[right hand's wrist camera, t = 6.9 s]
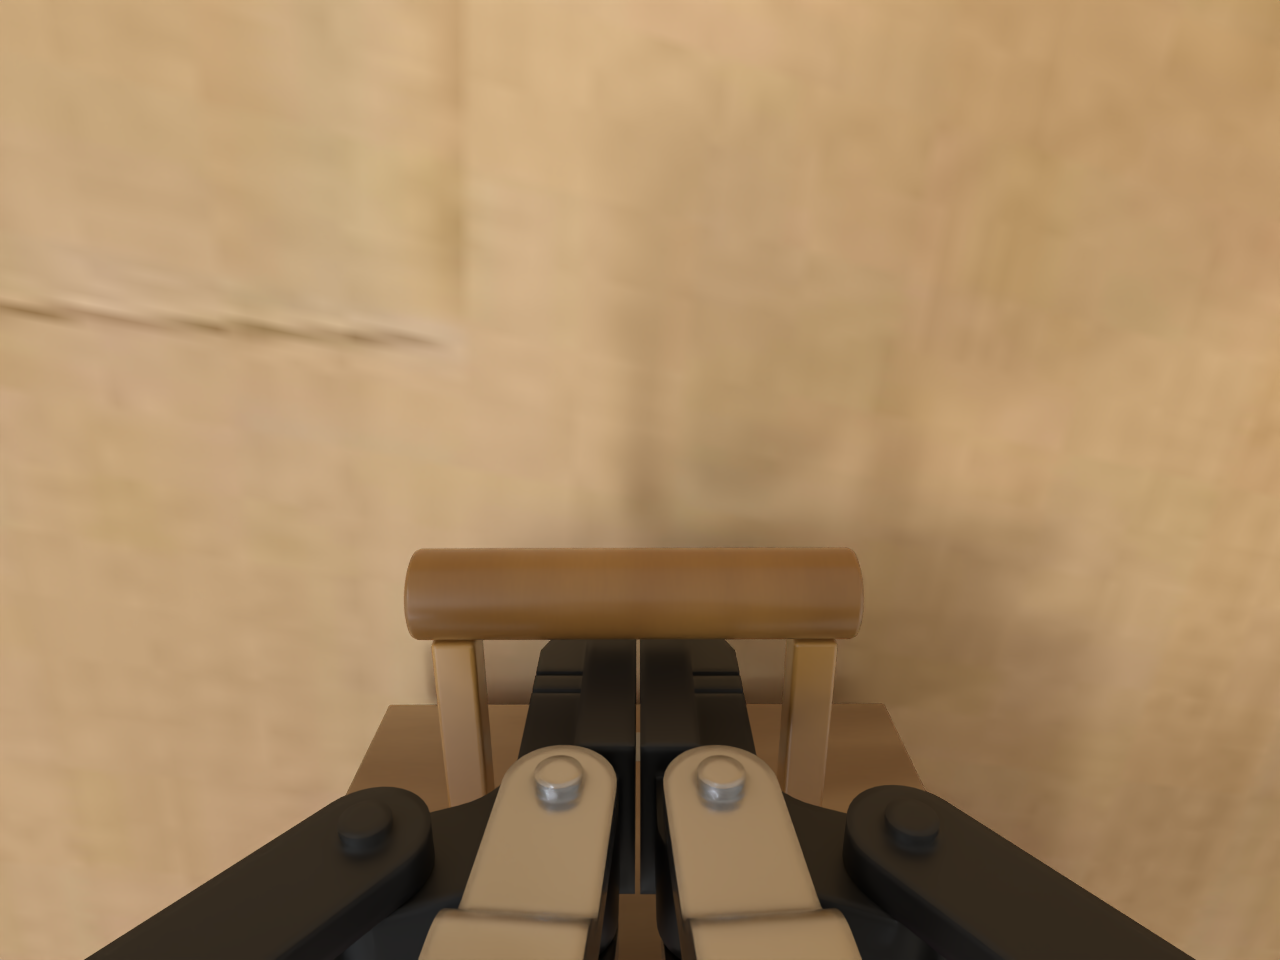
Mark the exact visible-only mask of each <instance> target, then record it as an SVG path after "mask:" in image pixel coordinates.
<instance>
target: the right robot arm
mask: <svg viewBox="0 0 1280 960" xmlns="http://www.w3.org/2000/svg"><path fill="white" fill-rule="evenodd" d="M635 820H636V639H600V640H550V642H549V643H548V644H547V645H546V646H545V647H544V648H543V649H542V650H541V653H540V657H539V662H538V667H537V671H536V676H535V681H534V685H533V693H532V695H531V699H530V704H529V708H528V713H527V718H526V722H525V727H524V732H523V736H522V741H521V746H520V750H519V755H518V759H517V761H516V762H515V763H514V764H512V765H511V766H510V768H509V769H508V770H507V772H506V773H505V775H504V777H503V779H502V782H501V785H500V786H498V787H497V788H496V789H494V790H493V791H491V792H490V793H488V794H486V795H484V796H483V797H481V798H478V799H476V800H474V801H471V802H468V803H465V804H462V805H458V806H454V807H450V808H446V809H442V810H438V811H434V812H429V809H428V806H427V805H426V803H425V802H424V800H422V799H421V798H420V797H419V796H418V795H416V794H415V793H413V792H411V791H408V790H405V789H402V788H397V787H373V788H368V789H363V790H359V791H356V792H353V793H350V794H348V795H346V796H343V797H341V798H339V799H337V800H336V801H334V802H332V803H330V804H329V805H327V806H326V807H324V808H323V809H321V810H319V811H318V812H316V813H315V814H313V815H312V816H310V817H308V818H307V819H305V820H304V821H302V822H301V823H299V824H297V825H296V826H294V827H293V828H291V829H290V830H288V831H286V832H285V833H283V834H282V835H280V836H278V837H277V838H275V839H274V840H272V841H271V842H269V843H267V844H266V845H264V846H263V847H261V848H260V849H258V850H256V851H255V852H253V853H252V854H250V855H249V856H247V857H245V858H244V859H242V860H241V861H239V862H238V863H236V864H234V865H233V866H231V867H230V868H228V869H226V870H225V871H223V872H222V873H220V874H219V875H217V876H215V877H214V878H212V879H211V880H209V881H208V882H206V883H204V884H203V885H201V886H200V887H198V888H197V889H195V890H193V891H192V892H190V893H189V894H187V895H186V896H184V897H182V898H181V899H179V900H178V901H176V902H174V903H173V904H171V905H170V906H168V907H167V908H165V909H163V910H162V911H160V912H159V913H157V914H156V915H154V916H152V917H151V918H149V919H148V920H146V921H145V922H143V923H141V924H140V925H138V926H137V927H135V928H134V929H132V930H130V931H129V932H127V933H126V934H124V935H122V936H121V937H119V938H118V939H116V940H115V941H113V942H111V943H110V944H108V945H107V946H105V947H104V948H102V949H100V950H99V951H97V952H96V953H94V954H93V955H91V956H89V957H88V958H86V959H85V960H618V957H619V925H618V919H619V894H635ZM640 894H656V922H657V929H658V932H659V935H660V937H661V957H662V960H1195V959H1194V958H1192V957H1191V956H1189V955H1187V954H1186V953H1184V952H1183V951H1181V950H1180V949H1178V948H1176V947H1175V946H1173V945H1172V944H1170V943H1169V942H1167V941H1165V940H1164V939H1162V938H1161V937H1159V936H1157V935H1156V934H1154V933H1153V932H1151V931H1150V930H1148V929H1146V928H1145V927H1143V926H1142V925H1140V924H1139V923H1137V922H1135V921H1134V920H1132V919H1131V918H1129V917H1128V916H1126V915H1124V914H1123V913H1121V912H1120V911H1118V910H1117V909H1115V908H1113V907H1112V906H1110V905H1109V904H1107V903H1105V902H1104V901H1102V900H1101V899H1099V898H1098V897H1096V896H1094V895H1093V894H1091V893H1090V892H1088V891H1087V890H1085V889H1083V888H1082V887H1080V886H1079V885H1077V884H1076V883H1074V882H1072V881H1071V880H1069V879H1068V878H1066V877H1065V876H1063V875H1061V874H1060V873H1058V872H1057V871H1055V870H1054V869H1052V868H1050V867H1049V866H1047V865H1046V864H1044V863H1042V862H1041V861H1039V860H1038V859H1036V858H1035V857H1033V856H1031V855H1030V854H1028V853H1027V852H1025V851H1024V850H1022V849H1020V848H1019V847H1017V846H1016V845H1014V844H1013V843H1011V842H1009V841H1008V840H1006V839H1005V838H1003V837H1002V836H1000V835H998V834H997V833H995V832H994V831H992V830H990V829H989V828H987V827H986V826H984V825H983V824H981V823H979V822H978V821H976V820H975V819H973V818H972V817H970V816H968V815H967V814H965V813H964V812H962V811H961V810H959V809H957V808H956V807H954V806H953V805H951V804H950V803H948V802H946V801H945V800H943V799H941V798H939V797H938V796H936V795H933V794H931V793H929V792H926V791H924V790H920V789H917V788H914V787H908V786H902V785H882V786H876V787H873V788H870V789H867V790H865V791H863V792H861V793H860V794H858V795H857V796H856V797H855V798H854V799H853V800H852V802H851V803H850V805H849V808H848V810H847V813H843V812H839V811H835V810H831V809H827V808H823V807H819V806H815V805H812V804H809V803H805V802H803V801H800V800H798V799H796V798H793V797H792V796H790V795H788V794H786V793H784V792H783V791H782V790H781V788H780V785H779V782H778V779H777V777H776V775H775V773H774V772H773V770H772V769H771V768H770V766H769V765H768V764H766V763H765V762H764V761H763V760H762V759H760V758H759V757H758V756H757V755H756V750H755V745H754V741H753V736H752V731H751V726H750V721H749V716H748V711H747V707H746V702H745V697H744V694H743V687H742V682H741V678H740V676H739V668H738V663H737V658H736V653H735V650H734V649H733V648H732V647H731V646H730V645H729V644H728V643H727V642H726V641H725V640H724V639H640Z"/></svg>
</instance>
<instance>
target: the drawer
mask: <svg viewBox="0 0 1280 960" xmlns="http://www.w3.org/2000/svg"><path fill="white" fill-rule="evenodd" d="M863 608H864V590H863V580H862V573H861V569H860V565H859V562H858V559H857V557H856V555H855V553H854V551H853V550H851V549H849V548H470V549H420V550H418V551H416V552H415V553H414V554H413V556H412V558H411V560H410V563H409V566H408V570H407V574H406V580H405V588H404V610H405V618H406V623H407V627H408V630H409V633H410V635H411V636H412V637H413V638H415V639H417V640H434V641H433V644H432V646H431V649H432V658H433V667H434V676H435V686H436V695H437V704H438V705H390V706H389V707H388V709H387V711H386V713H385V716H384V718H383V720H382V722H381V724H380V726H379V728H378V730H377V732H376V734H375V736H374V738H373V740H372V742H371V744H370V746H369V748H368V750H367V753H366V755H365V757H364V759H363V761H362V763H361V765H360V767H359V769H358V771H357V773H356V775H355V777H354V779H353V781H352V783H351V785H350V787H349V790H348V792H347V794H346V795H348V794H350V793H353V792H356V791H359V790H363V789H368V788H373V787H397V788H402V789H405V790H408V791H411V792H413V793H415V794H416V795H418V796H419V797H420V798H421V799H422V800H424V802H425V803H426V805H427V806H428V809H429V812H434V811H438V810H442V809H446V808H450V807H454V806H458V805H462V804H465V803H468V802H471V801H474V800H476V799H478V798H481V797H483V796H484V795H486V794H488V793H490V792H491V791H493V790H494V789H496V788H497V787H498V786H500V785H501V782H502V779H503V777H504V775H505V773H506V772H507V770H508V769H509V768H510V766H511V765H512V764H514V763H515V762H516V761H517V759H518V755H519V750H520V746H521V741H522V736H523V732H524V727H525V722H526V718H527V713H528V708H529V705H488V698H487V686H486V674H485V662H484V650H483V640H600V639H786V653H785V667H784V681H783V695H782V704H746V707H747V711H748V716H749V721H750V726H751V731H752V736H753V741H754V745H755V750H756V755H757V756H758V757H759V758H760V759H762V760H763V761H764V762H765V763H766V764H768V765H769V766H770V768H771V769H772V770H773V772H774V773H775V775H776V777H777V779H778V782H779V785H780V788H781V790H782V791H783V792H784V793H786V794H788V795H790V796H792V797H793V798H796V799H798V800H800V801H803V802H805V803H809V804H812V805H815V806H819V807H823V808H827V809H831V810H835V811H839V812H843V813H847V810H848V808H849V805H850V803H851V802H852V800H853V799H854V798H855V797H856V796H857V795H858V794H860V793H861V792H863V791H865V790H867V789H870V788H873V787H876V786H882V785H902V786H908V787H914V788H917V789H920V790H924V791H925V789H924V787H923V785H922V782H921V780H920V778H919V776H918V774H917V772H916V770H915V768H914V766H913V764H912V761H911V759H910V757H909V755H908V753H907V751H906V749H905V747H904V745H903V743H902V741H901V738H900V736H899V734H898V732H897V730H896V728H895V726H894V724H893V722H892V720H891V717H890V715H889V713H888V711H887V709H886V707H885V705H884V704H832V699H833V689H834V678H835V668H836V658H837V647H838V645H837V643H836V640H835V639H851V638H853V637H855V636H856V635H857V634H858V632H859V629H860V626H861V622H862V617H863ZM618 925H619V957H618V960H662V957H661V937H660V935H659V932H658V929H657V922H656V894H640V704H636V820H635V894H619V919H618Z"/></svg>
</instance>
